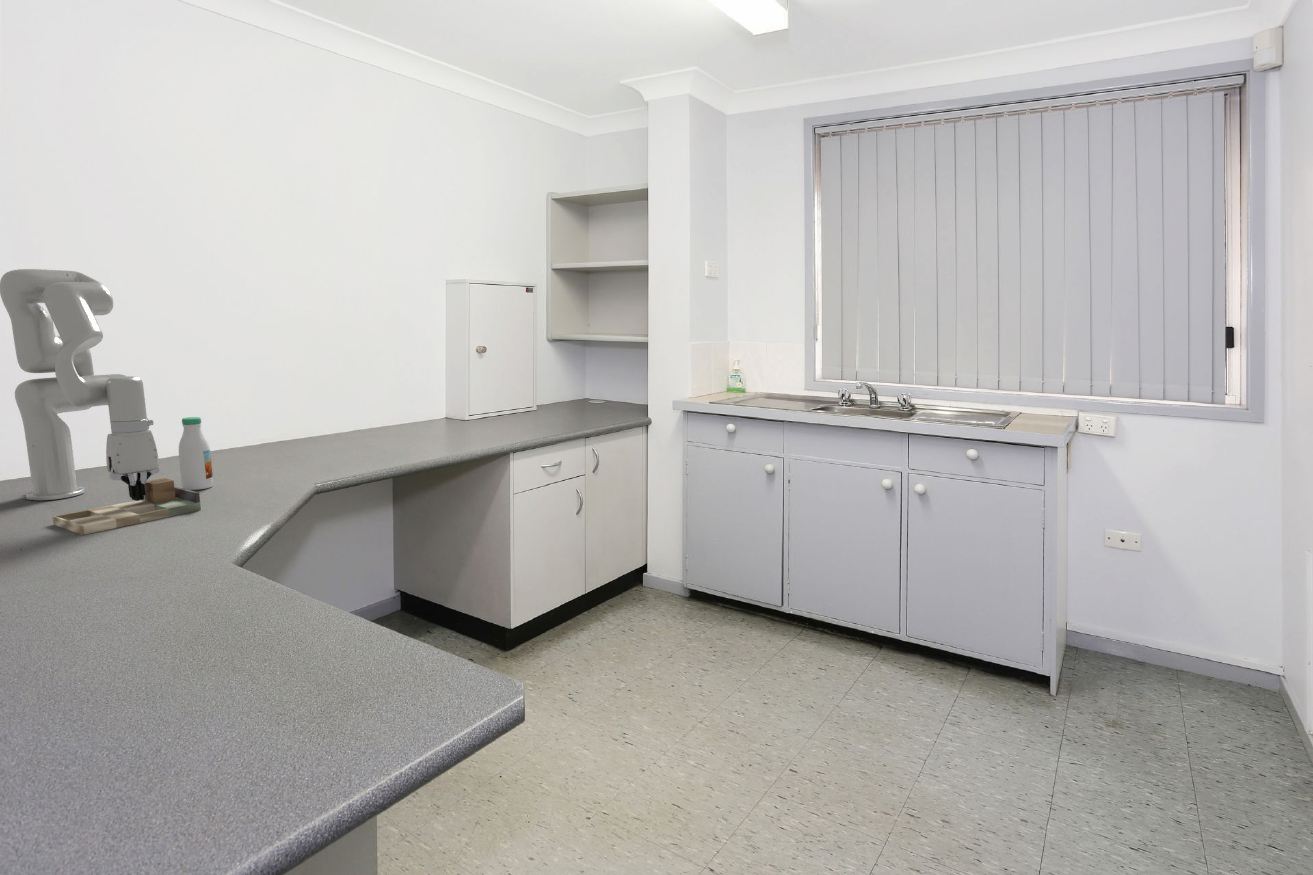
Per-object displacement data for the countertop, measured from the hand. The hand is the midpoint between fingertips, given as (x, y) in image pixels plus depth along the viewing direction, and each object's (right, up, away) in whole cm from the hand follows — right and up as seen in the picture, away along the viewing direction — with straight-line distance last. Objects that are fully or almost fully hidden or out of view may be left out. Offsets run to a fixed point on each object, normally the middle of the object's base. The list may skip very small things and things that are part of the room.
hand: (138, 499), depth 193 cm
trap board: (+1, -4, -4) cm, 6 cm away
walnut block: (+3, -1, +4) cm, 5 cm away
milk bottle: (-1, +1, +26) cm, 26 cm away
